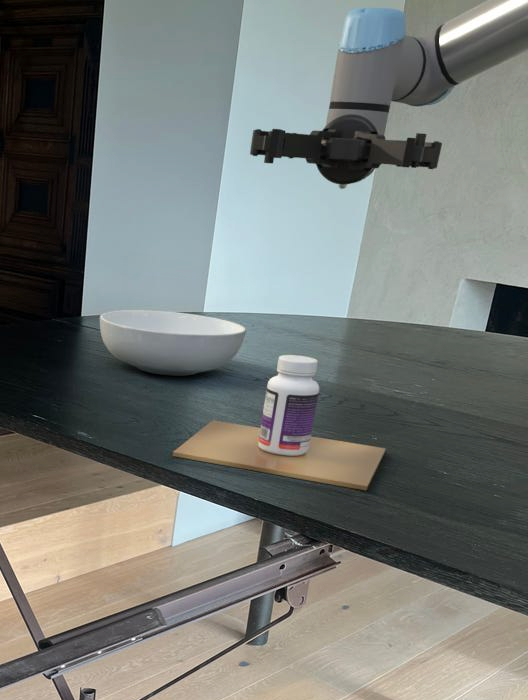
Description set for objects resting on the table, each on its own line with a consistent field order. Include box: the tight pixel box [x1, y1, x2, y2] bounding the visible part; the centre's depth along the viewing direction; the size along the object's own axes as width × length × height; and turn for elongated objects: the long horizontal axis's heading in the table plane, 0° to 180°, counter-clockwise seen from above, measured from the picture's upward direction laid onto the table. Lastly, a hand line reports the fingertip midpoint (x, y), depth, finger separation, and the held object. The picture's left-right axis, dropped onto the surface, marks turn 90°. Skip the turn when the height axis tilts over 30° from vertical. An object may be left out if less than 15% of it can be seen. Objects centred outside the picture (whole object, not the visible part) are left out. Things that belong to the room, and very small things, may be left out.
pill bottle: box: [258, 354, 320, 456], centre depth 105 cm, size 5×5×10 cm
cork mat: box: [172, 419, 387, 491], centre depth 107 cm, size 20×16×1 cm
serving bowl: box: [99, 309, 247, 377], centre depth 143 cm, size 21×21×7 cm
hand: (340, 147), depth 102 cm, fingers open, 13 cm apart
